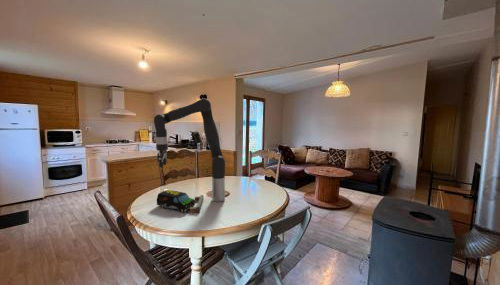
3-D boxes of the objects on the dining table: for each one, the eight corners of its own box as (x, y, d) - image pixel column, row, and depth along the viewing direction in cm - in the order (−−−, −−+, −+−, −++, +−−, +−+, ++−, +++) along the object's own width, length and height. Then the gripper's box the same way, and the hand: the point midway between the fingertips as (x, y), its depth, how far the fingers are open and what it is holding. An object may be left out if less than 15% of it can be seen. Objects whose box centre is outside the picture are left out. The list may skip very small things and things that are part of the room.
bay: (203, 200, 151) (203, 195, 151) (199, 212, 131) (199, 206, 130) (195, 200, 151) (195, 195, 150) (190, 213, 130) (189, 207, 129)
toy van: (185, 214, 129) (185, 198, 128) (155, 207, 138) (155, 193, 137) (195, 207, 139) (195, 193, 138) (167, 201, 148) (167, 188, 147)
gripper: (164, 144, 137) (165, 168, 138) (170, 142, 151) (171, 163, 152) (152, 144, 136) (154, 168, 137) (159, 142, 150) (160, 164, 151)
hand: (163, 166), depth 145 cm, fingers open, 8 cm apart
